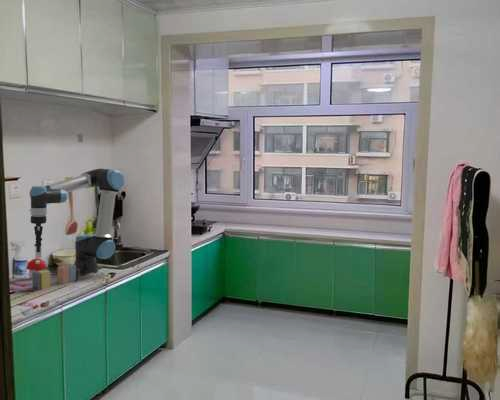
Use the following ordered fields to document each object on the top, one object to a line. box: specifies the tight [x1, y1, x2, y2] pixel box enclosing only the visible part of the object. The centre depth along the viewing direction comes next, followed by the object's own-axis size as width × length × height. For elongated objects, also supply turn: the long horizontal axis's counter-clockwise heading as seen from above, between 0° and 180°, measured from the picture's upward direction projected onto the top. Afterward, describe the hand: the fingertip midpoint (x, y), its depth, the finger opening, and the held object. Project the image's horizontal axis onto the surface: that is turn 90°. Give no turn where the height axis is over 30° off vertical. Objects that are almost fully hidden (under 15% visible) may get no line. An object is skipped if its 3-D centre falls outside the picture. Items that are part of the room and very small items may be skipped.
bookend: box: [27, 272, 41, 292], centre depth 247 cm, size 4×5×9 cm
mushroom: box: [25, 258, 48, 280], centre depth 272 cm, size 11×11×12 cm
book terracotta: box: [57, 265, 71, 285], centre depth 262 cm, size 4×5×9 cm
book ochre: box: [37, 269, 51, 290], centre depth 252 cm, size 4×5×9 cm
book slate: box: [63, 263, 77, 283], centre depth 266 cm, size 4×5×9 cm
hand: (38, 255), depth 247 cm, fingers open, 13 cm apart
